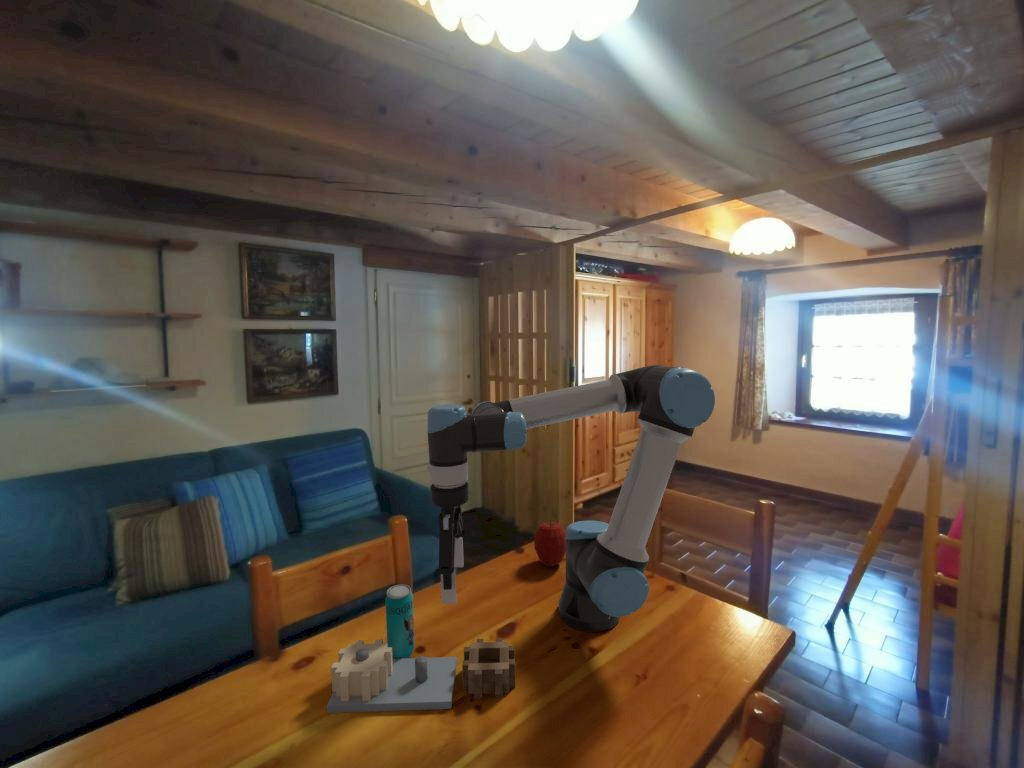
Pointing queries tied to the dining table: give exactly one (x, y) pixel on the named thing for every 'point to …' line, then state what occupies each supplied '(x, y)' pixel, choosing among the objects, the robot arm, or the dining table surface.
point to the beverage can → (400, 621)
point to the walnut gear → (488, 668)
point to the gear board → (389, 680)
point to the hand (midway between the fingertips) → (453, 583)
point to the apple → (550, 543)
